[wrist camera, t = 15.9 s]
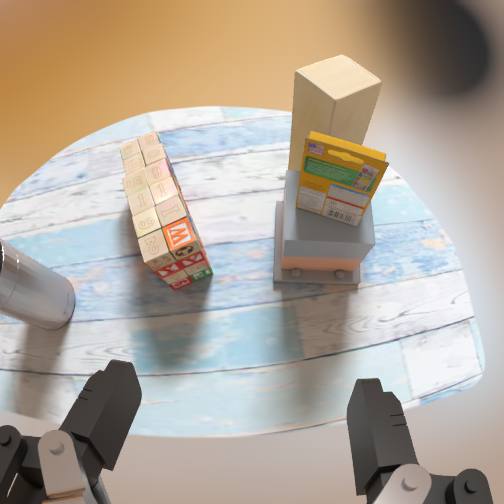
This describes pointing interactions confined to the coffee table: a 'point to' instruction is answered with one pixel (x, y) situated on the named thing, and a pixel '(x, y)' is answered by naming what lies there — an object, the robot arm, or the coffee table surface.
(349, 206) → the crayon box
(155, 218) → the stack of blocks
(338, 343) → the coffee table surface
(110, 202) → the coffee table surface
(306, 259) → the two-tone cube on base
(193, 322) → the coffee table surface
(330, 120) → the tall beige wooden block
